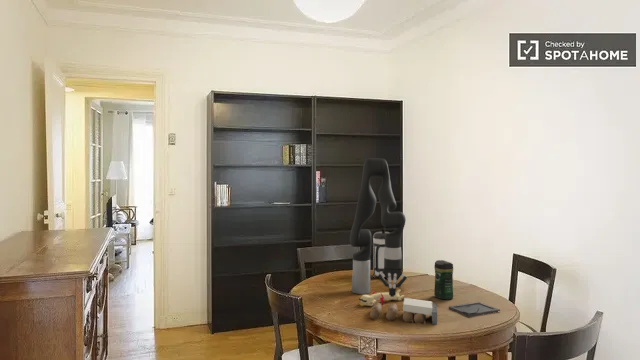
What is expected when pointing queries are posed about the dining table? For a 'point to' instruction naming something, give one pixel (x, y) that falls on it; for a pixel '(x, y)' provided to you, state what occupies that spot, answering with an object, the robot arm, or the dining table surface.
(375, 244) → the coffee press
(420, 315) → the roller
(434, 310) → the block
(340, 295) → the dining table surface
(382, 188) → the robot arm
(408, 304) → the slab
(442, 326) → the dining table surface
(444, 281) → the coffee jar
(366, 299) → the cat figure
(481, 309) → the picture frame
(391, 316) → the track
